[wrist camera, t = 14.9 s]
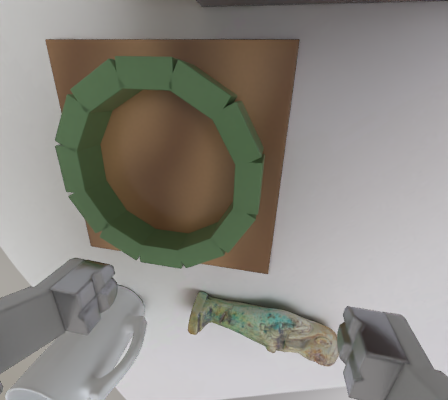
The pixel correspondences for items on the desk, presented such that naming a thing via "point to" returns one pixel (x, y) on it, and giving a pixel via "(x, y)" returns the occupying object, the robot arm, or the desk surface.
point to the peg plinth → (289, 2)
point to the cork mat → (189, 135)
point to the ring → (95, 173)
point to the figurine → (267, 327)
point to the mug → (87, 357)
